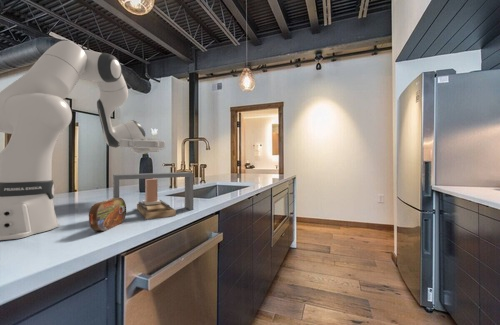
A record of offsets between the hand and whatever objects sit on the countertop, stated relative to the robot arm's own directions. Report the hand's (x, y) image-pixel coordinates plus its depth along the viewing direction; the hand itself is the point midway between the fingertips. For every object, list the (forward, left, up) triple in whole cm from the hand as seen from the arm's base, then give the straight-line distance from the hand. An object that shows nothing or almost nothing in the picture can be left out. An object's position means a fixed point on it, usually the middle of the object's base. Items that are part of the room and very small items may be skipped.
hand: (145, 143), depth 109 cm
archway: (0, -20, -28) cm, 35 cm away
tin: (-16, -34, -28) cm, 47 cm away
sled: (0, -12, -26) cm, 28 cm away
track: (0, -19, -28) cm, 34 cm away
